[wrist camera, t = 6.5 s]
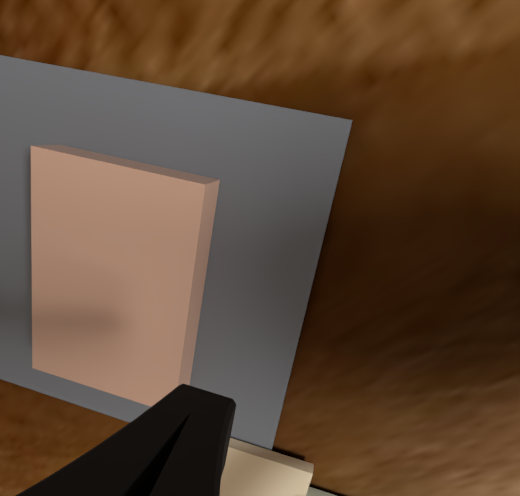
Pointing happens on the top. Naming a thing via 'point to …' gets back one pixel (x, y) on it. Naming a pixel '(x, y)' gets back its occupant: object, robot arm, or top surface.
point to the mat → (224, 227)
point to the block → (117, 270)
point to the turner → (265, 473)
